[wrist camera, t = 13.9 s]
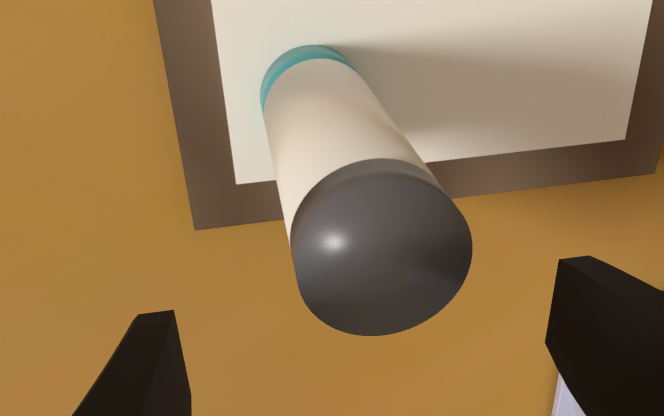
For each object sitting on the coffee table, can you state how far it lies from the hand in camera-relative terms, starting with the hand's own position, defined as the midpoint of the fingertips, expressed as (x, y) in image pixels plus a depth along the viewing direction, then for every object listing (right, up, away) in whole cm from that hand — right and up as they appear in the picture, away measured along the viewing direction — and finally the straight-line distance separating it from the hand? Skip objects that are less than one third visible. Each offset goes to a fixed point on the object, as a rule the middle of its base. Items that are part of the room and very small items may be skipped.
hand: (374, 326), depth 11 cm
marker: (-1, +6, +7) cm, 9 cm away
